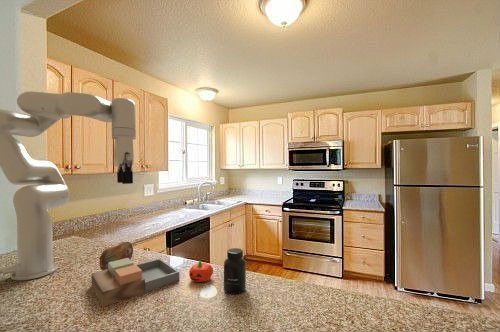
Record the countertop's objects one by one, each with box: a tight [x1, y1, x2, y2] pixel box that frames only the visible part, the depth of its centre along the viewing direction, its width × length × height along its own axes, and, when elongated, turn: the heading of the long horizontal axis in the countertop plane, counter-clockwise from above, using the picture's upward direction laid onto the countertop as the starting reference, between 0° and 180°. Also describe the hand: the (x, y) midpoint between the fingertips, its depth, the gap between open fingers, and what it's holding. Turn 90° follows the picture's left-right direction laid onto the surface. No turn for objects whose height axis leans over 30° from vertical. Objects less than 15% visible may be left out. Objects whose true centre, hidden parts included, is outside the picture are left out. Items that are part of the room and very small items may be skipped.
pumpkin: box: [188, 260, 214, 283], centre depth 81 cm, size 7×8×6 cm
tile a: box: [115, 264, 142, 285], centre depth 73 cm, size 6×6×2 cm
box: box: [136, 258, 180, 293], centre depth 82 cm, size 11×16×3 cm
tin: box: [99, 241, 134, 271], centre depth 92 cm, size 15×3×8 cm, turn 169°
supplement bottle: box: [223, 247, 247, 295], centre depth 74 cm, size 7×7×12 cm
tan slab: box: [91, 269, 146, 308], centre depth 75 cm, size 11×16×4 cm
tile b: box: [108, 258, 135, 276], centre depth 79 cm, size 6×6×2 cm
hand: (124, 183), depth 85 cm, fingers open, 9 cm apart
